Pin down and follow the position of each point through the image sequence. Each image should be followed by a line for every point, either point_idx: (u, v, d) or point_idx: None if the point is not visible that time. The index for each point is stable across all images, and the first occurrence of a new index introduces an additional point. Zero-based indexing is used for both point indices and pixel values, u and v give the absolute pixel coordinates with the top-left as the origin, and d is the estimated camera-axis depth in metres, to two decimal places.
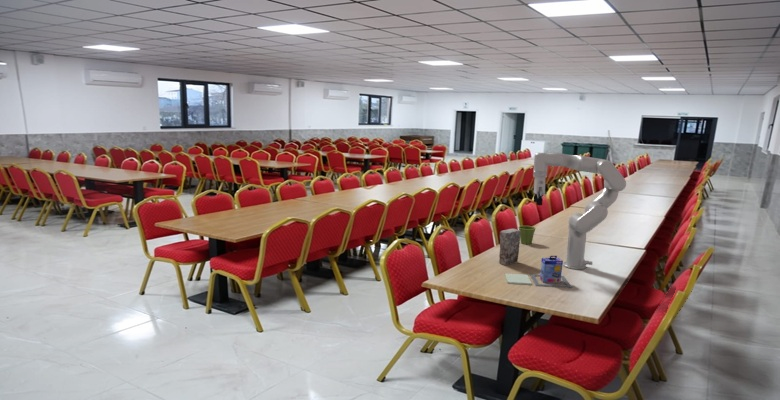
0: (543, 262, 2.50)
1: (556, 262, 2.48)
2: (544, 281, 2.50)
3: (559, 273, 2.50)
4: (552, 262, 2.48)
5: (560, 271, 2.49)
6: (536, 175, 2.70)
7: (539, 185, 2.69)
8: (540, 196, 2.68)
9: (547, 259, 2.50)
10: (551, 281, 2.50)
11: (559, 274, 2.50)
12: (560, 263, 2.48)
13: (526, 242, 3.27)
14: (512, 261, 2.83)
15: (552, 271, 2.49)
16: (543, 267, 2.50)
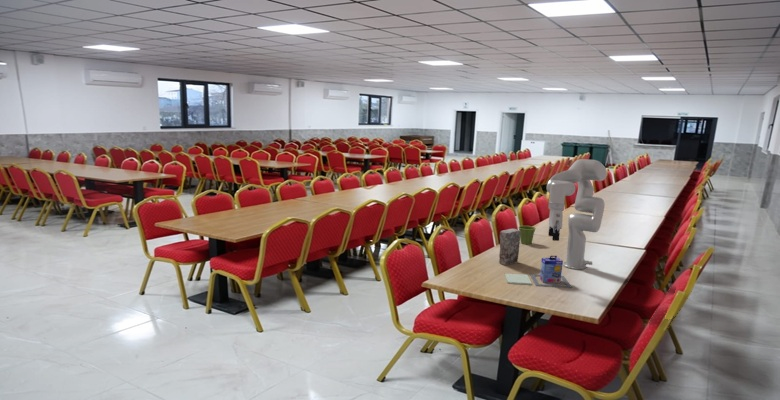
0: (543, 262, 2.50)
1: (556, 262, 2.48)
2: (544, 281, 2.50)
3: (559, 273, 2.50)
4: (552, 262, 2.48)
5: (560, 271, 2.49)
6: (552, 207, 2.43)
7: (556, 219, 2.42)
8: (557, 231, 2.41)
9: (547, 259, 2.50)
10: (551, 281, 2.50)
11: (559, 274, 2.50)
12: (560, 263, 2.48)
13: (526, 242, 3.27)
14: (512, 261, 2.83)
15: (552, 271, 2.49)
16: (543, 267, 2.50)
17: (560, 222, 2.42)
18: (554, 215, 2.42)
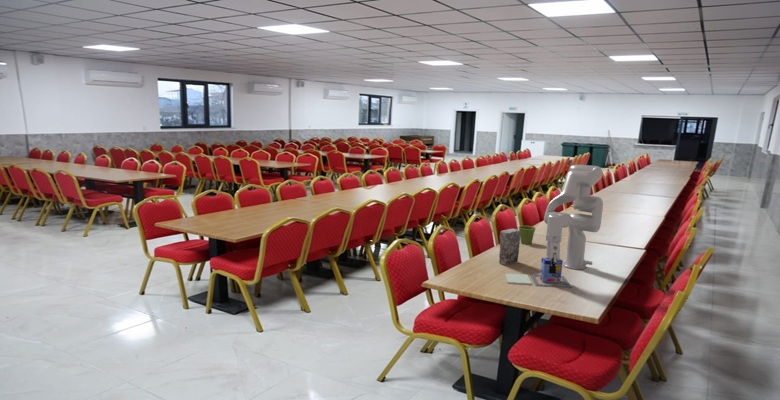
0: (543, 262, 2.50)
1: (556, 262, 2.48)
2: (544, 281, 2.50)
3: (559, 273, 2.50)
4: None
5: (560, 271, 2.49)
6: (550, 240, 2.46)
7: (554, 251, 2.45)
8: (553, 264, 2.46)
9: (547, 259, 2.50)
10: (551, 281, 2.50)
11: (559, 274, 2.50)
12: (560, 263, 2.49)
13: (526, 242, 3.27)
14: (512, 261, 2.83)
15: None
16: (543, 267, 2.50)
17: (557, 256, 2.45)
18: (551, 247, 2.45)
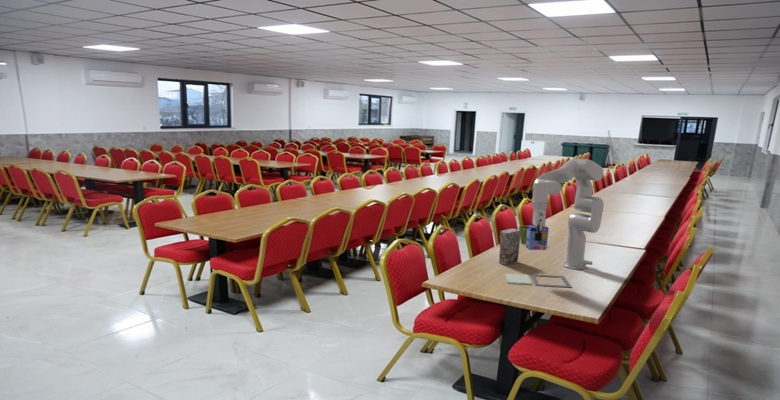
0: (529, 229, 2.47)
1: (542, 229, 2.46)
2: (530, 248, 2.47)
3: (545, 240, 2.47)
4: None
5: (546, 238, 2.47)
6: (535, 206, 2.44)
7: (539, 218, 2.42)
8: None
9: (533, 226, 2.47)
10: (537, 248, 2.48)
11: (545, 241, 2.47)
12: (546, 230, 2.46)
13: None
14: (512, 261, 2.83)
15: None
16: (529, 234, 2.47)
17: (543, 223, 2.42)
18: (537, 214, 2.43)
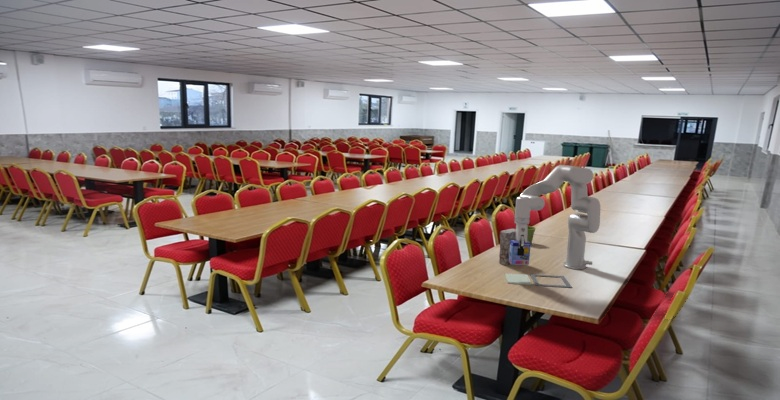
0: (511, 244, 2.49)
1: (524, 244, 2.48)
2: (512, 263, 2.49)
3: (527, 255, 2.49)
4: None
5: (528, 253, 2.49)
6: (518, 221, 2.46)
7: (521, 233, 2.44)
8: (521, 246, 2.45)
9: (515, 241, 2.49)
10: (519, 263, 2.49)
11: (527, 256, 2.49)
12: (528, 245, 2.48)
13: None
14: None
15: None
16: (511, 249, 2.49)
17: (525, 238, 2.44)
18: (519, 229, 2.45)
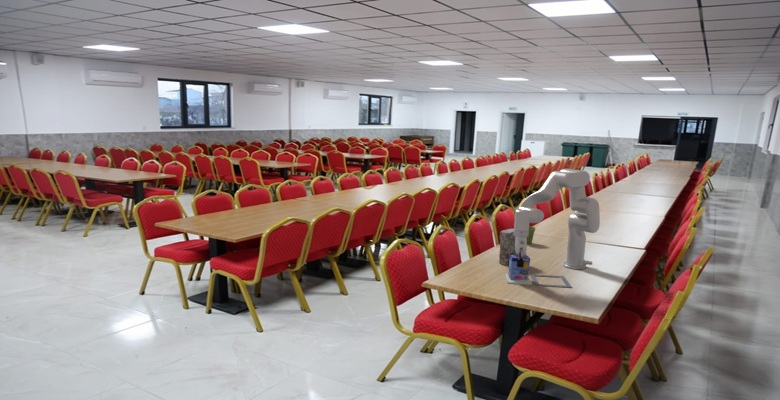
0: (510, 259, 2.51)
1: None
2: (511, 278, 2.51)
3: (526, 270, 2.50)
4: None
5: (527, 268, 2.50)
6: (517, 234, 2.47)
7: (520, 246, 2.45)
8: (521, 258, 2.45)
9: (514, 256, 2.51)
10: (518, 278, 2.51)
11: (527, 271, 2.50)
12: (527, 260, 2.49)
13: None
14: None
15: (519, 268, 2.50)
16: (510, 264, 2.51)
17: (524, 249, 2.45)
18: (518, 242, 2.46)
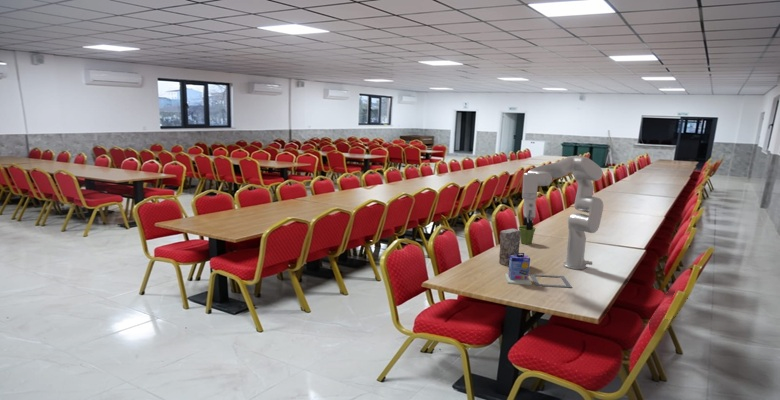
0: (510, 259, 2.51)
1: (523, 259, 2.49)
2: (511, 278, 2.51)
3: (526, 270, 2.50)
4: (519, 259, 2.49)
5: (527, 268, 2.50)
6: (525, 197, 2.48)
7: (529, 209, 2.47)
8: (530, 220, 2.46)
9: (514, 256, 2.51)
10: (518, 278, 2.51)
11: (527, 271, 2.50)
12: (527, 260, 2.49)
13: (526, 242, 3.27)
14: None
15: (519, 268, 2.50)
16: (510, 264, 2.51)
17: (533, 211, 2.47)
18: (527, 205, 2.47)
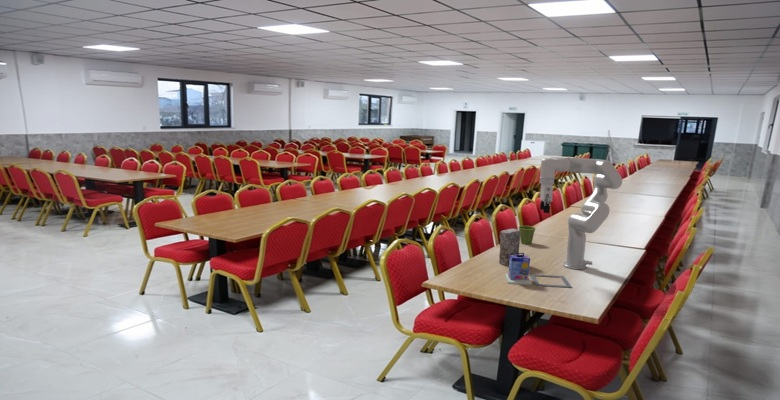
0: (510, 259, 2.51)
1: (523, 259, 2.49)
2: (511, 278, 2.51)
3: (526, 270, 2.50)
4: (519, 259, 2.49)
5: (527, 268, 2.50)
6: (543, 182, 2.59)
7: (547, 193, 2.58)
8: (547, 204, 2.57)
9: (514, 256, 2.51)
10: (518, 278, 2.51)
11: (527, 271, 2.50)
12: (527, 260, 2.49)
13: (526, 242, 3.27)
14: None
15: (519, 268, 2.50)
16: (510, 264, 2.51)
17: (550, 195, 2.58)
18: (545, 189, 2.58)
